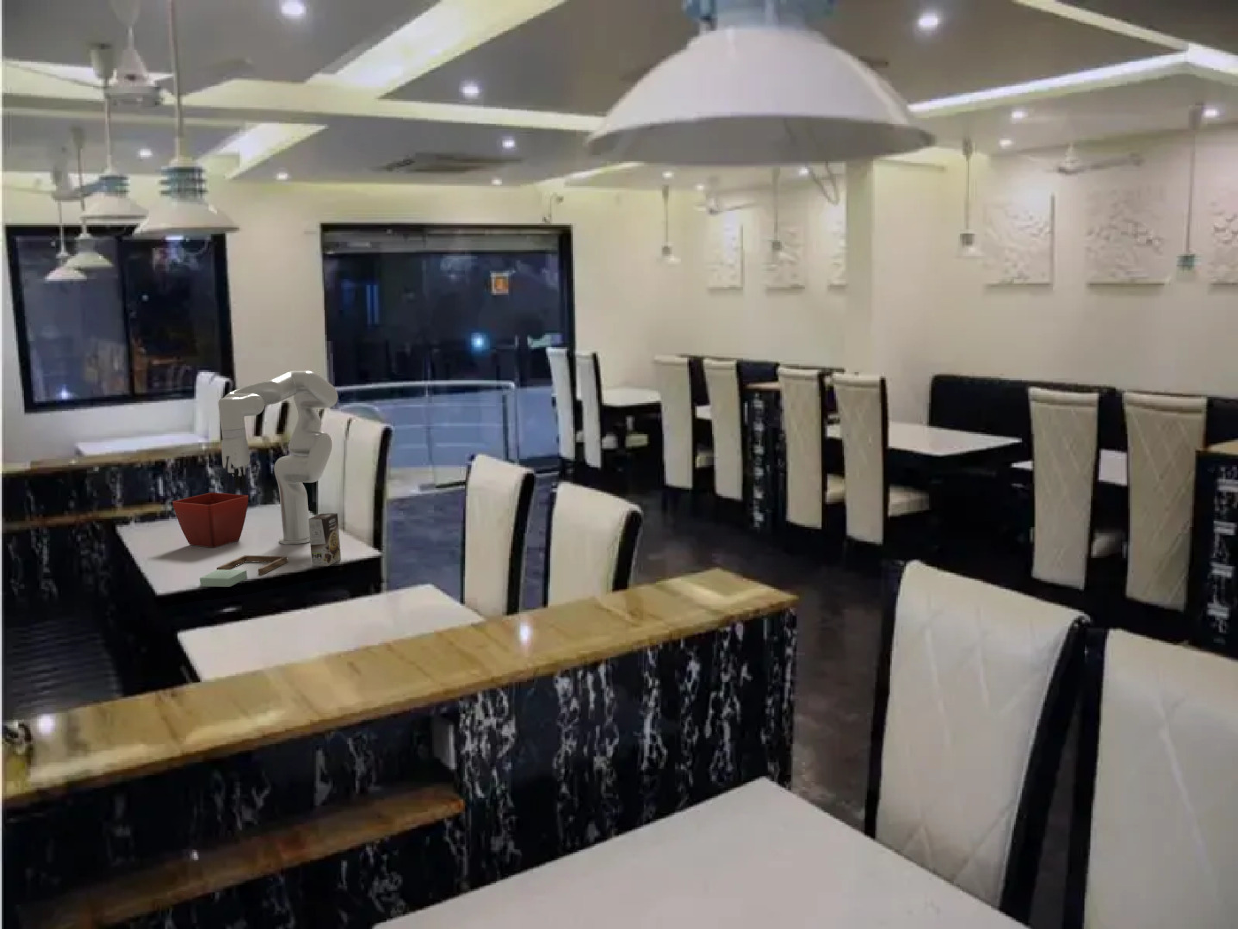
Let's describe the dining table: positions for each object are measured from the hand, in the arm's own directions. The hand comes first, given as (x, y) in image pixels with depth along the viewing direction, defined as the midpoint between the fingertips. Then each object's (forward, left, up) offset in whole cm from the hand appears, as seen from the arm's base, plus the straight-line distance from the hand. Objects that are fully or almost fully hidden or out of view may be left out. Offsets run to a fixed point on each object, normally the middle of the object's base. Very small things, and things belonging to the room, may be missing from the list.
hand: (240, 487), depth 341 cm
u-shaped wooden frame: (+10, +8, -25) cm, 28 cm away
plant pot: (-21, -27, -26) cm, 43 cm away
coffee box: (+1, +30, -26) cm, 40 cm away
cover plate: (+27, +9, -26) cm, 38 cm away
